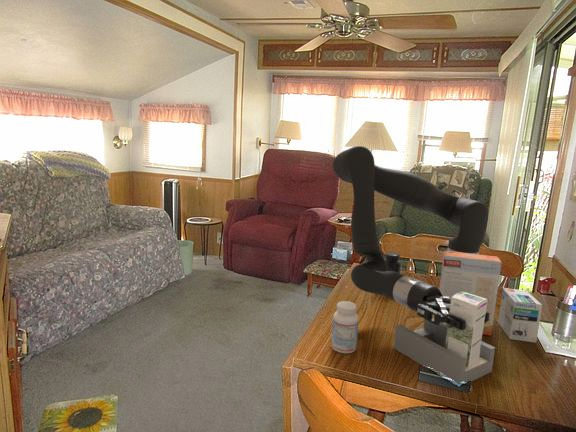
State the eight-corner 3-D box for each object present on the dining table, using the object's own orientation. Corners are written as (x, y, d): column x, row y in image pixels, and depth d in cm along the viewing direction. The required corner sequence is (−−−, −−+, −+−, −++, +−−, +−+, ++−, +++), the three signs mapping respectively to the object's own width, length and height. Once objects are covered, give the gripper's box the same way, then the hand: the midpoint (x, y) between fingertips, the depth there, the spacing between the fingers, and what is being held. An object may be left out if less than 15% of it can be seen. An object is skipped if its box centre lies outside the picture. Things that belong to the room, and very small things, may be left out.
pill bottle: (338, 339, 102) (341, 297, 100) (360, 347, 98) (364, 304, 96) (326, 348, 97) (329, 305, 95) (349, 357, 93) (352, 312, 91)
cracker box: (488, 327, 112) (499, 255, 108) (491, 337, 106) (502, 262, 102) (435, 318, 116) (443, 249, 112) (435, 327, 111) (444, 254, 107)
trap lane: (425, 337, 105) (428, 315, 104) (491, 371, 90) (495, 347, 89) (393, 348, 98) (396, 325, 97) (458, 387, 84) (462, 361, 82)
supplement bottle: (376, 283, 143) (379, 250, 141) (393, 282, 145) (396, 250, 142) (385, 290, 136) (388, 256, 134) (403, 289, 138) (406, 256, 136)
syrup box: (479, 359, 89) (488, 297, 86) (468, 368, 85) (477, 304, 82) (454, 348, 93) (462, 289, 90) (442, 357, 89) (450, 295, 86)
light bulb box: (536, 343, 104) (543, 304, 102) (508, 340, 105) (515, 301, 103) (522, 325, 114) (528, 289, 112) (496, 322, 116) (502, 287, 114)
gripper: (397, 285, 94) (458, 311, 81) (436, 276, 102) (498, 299, 89) (394, 315, 96) (454, 345, 83) (433, 304, 104) (493, 330, 90)
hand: (476, 321), depth 86 cm, fingers open, 8 cm apart
